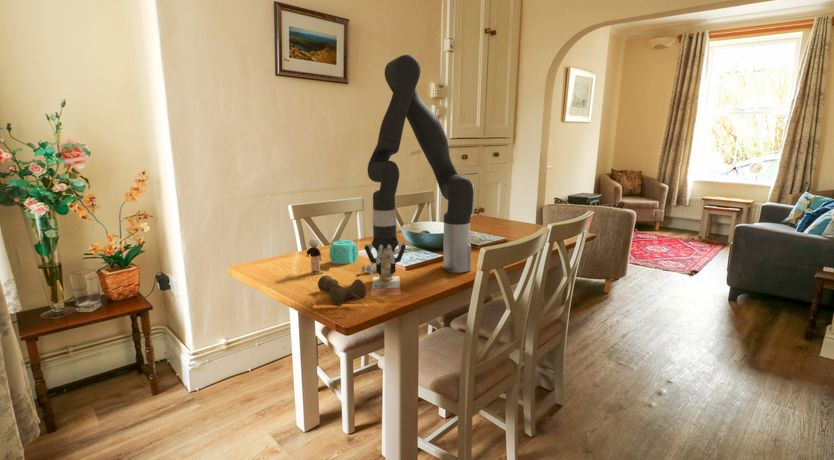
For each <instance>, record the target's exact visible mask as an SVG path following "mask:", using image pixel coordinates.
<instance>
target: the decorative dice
mask: <svg viewBox="0 0 834 460" xmlns="http://www.w3.org/2000/svg"><path fill="white" fill-rule="evenodd" d="M358 256H359V249H358V246H357V244H356V243H355V242H354V241H353V240H348V239H345V240H344V239H343V240H336V241H333V242H332V244H331V245H330V247H329V259H330V261H331V263H332V264H338V265H340V264H341V265H347V264H353V263H356V262H357V260H358Z"/></svg>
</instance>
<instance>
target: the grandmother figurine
mask: <svg viewBox="0 0 834 460" xmlns="http://www.w3.org/2000/svg"><path fill="white" fill-rule="evenodd" d="M318 241H319V240H318V238H317V237H312V238H310V240H308V243H307V244H308V246H310V248H308V249H307V251H306V257H307V258H308V257H310V264H311V265H310V266H311V267H310V268H311V271H310V274H315V275H322V274H324V272H323V270H321V267H320V266H321V265H320V262H321V261H323V257H322V254H321V250H320V249H319V248H318V245H319V242H318Z"/></svg>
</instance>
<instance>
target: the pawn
mask: <svg viewBox="0 0 834 460" xmlns="http://www.w3.org/2000/svg"><path fill="white" fill-rule="evenodd" d="M380 266H381V275H378V277H379V278H380V280H381V281H391V280H393V276H394V274H393V275H391V258H390V255H389V251H388V249H387V248H384V249H382V254H381V258H380Z"/></svg>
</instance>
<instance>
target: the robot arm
mask: <svg viewBox="0 0 834 460" xmlns="http://www.w3.org/2000/svg"><path fill="white" fill-rule="evenodd" d="M420 77H421V65H420V63H419V61H418V59H417V58H415V56H413V55H411V54H403V55H400V56H398V57H395V58H394V59H393V60H391V61H389V62H388V63H387V64H386V66H385V67H384V78H385V81H386V83H387V85H388V87H389V89H390V91H392V95H391V99H390V102H389V105H388V107H387V110H386V112H385V113H384V116H383V119H382V121H381V125H380V128H379V133H378V138H377V144H376V145H375V148H374V149H373V152H372V155H371V157H370V159H369V161H368V164H367V175H368V178H369V179H370V180H371V182H374V183H380V187H379V190H375V191H374V192H373V194H372V221H371V222H372V234H373V235H372V239H373V240H372V241H371V242H370V243H366V244H365V245H364V250H365V253H366V255H367V257H368V259H369V262H370V263H374V264H375V266H376V272H377V273H376V274H378V276H380V275H381V266H380V258H381V254H382V249H384V248H387V249H388V251H389V255H390V258H391V275H393V276H394V274H395V273H396V271H395V270H396V265H395V264H396V263H401V260H402V258H403V257H404V256H403V255H404V252H405V249H406V247H407V246H406V243H404V242H402V243H401V242H399V240H398V238H397V233H398V232H397V214H396V199H395V198H396V193H397V190H398V189H397V188H398V184H399V180H400V170H399V167H398V164H397V163H396V162H395V161H393V160H390V158H391V157H392V156H393V155H396V154H397V153H398V152H399V150H400V146H401V141H402V138H403V137H402V136H403V131H404V127H405V122H406V119H407V121H408V124H409V125H410V128H411V129H412V131H413V134H414V137H415V138H416V141H417V143H418V144H419V147H420V149H421V150H422V152H423V154H424V156H425V158H426V159H427V162H428V164H429V166H430V167H431V169H432V172H433V174H434V177H435V180H436V182H437V185H438V187H439V190H440V194H441V195H442V197H444V199H445V200H447V210H446V212H445V213H444V215H443V270H444V271H445V272H448V273H453V274H454V273H455V274H458V273H459V274H462V273H467V272H471V270H472V269H471V267H472V245H471V239H470V238H471V217H472V214H473V210H474V209H473V208H474V187H473V186H474V185H473V184H472V183H473V182H471V180H470V179H469V178H467V177H463V176H460V175H459V173H458V171H457V170H456V168H455V166H454V164H453V162H452V160H451V156H450V151H449V142H448V138H447V136H446V133H445V131H444V128H443V126H442V123H441V122H440V120H439V118H438V117H437V115H436V114H435V113H434V111H432V109H431V108H429V107H428V105H426V103H425V102H424V101H423V100H422V98H421V97H420V95H419V93H418V91H417V89H416V88H417V86H418V82H419V80H420ZM397 247H398V254H397V257H395V254H394V251H395V249H396V248H397ZM373 248H374V249H375V251H377V254H376V257H374V255H373V252H372V250H373Z"/></svg>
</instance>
